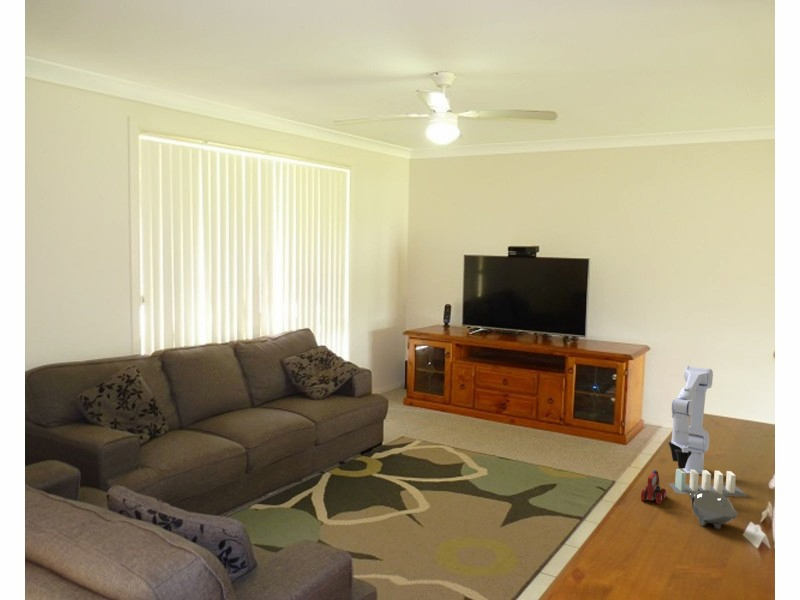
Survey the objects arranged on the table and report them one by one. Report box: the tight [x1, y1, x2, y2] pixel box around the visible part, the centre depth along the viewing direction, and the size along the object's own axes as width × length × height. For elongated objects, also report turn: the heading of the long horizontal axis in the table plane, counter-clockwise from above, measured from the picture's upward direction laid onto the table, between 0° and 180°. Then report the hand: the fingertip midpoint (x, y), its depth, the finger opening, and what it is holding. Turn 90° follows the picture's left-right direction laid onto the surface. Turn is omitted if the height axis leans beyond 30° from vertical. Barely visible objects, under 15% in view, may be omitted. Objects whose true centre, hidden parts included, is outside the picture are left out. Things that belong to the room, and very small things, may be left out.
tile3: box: [701, 469, 712, 490], centre depth 249 cm, size 2×4×7 cm, turn 174°
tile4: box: [713, 470, 724, 493], centre depth 248 cm, size 2×4×7 cm, turn 174°
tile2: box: [689, 469, 700, 492], centre depth 249 cm, size 2×4×7 cm, turn 174°
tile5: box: [725, 470, 737, 493], centre depth 248 cm, size 2×4×7 cm, turn 174°
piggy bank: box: [688, 490, 738, 530], centre depth 220 cm, size 11×15×12 cm
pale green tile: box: [674, 468, 687, 491], centre depth 250 cm, size 2×4×7 cm, turn 6°
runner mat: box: [667, 482, 749, 498], centre depth 249 cm, size 10×26×1 cm, turn 84°
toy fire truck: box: [640, 470, 667, 505], centre depth 240 cm, size 7×12×10 cm, turn 144°
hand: (678, 464), depth 249 cm, fingers open, 7 cm apart
